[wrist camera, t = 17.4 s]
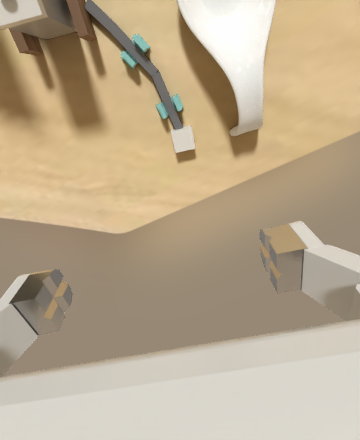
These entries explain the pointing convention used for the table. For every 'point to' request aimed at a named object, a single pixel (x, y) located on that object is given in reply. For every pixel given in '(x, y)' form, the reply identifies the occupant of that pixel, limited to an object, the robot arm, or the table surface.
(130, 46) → the cable
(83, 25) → the holder
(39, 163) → the table surface
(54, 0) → the grey block with knob
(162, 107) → the clip
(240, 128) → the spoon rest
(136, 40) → the clip
